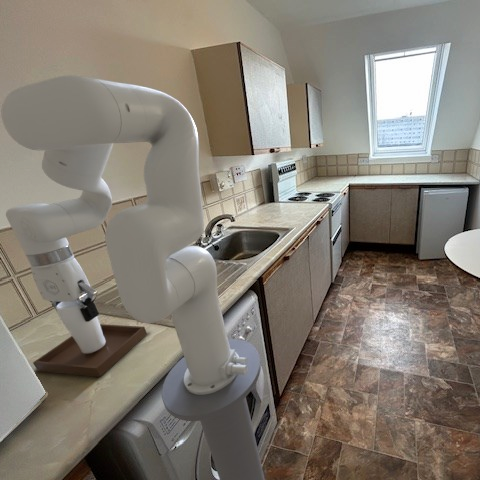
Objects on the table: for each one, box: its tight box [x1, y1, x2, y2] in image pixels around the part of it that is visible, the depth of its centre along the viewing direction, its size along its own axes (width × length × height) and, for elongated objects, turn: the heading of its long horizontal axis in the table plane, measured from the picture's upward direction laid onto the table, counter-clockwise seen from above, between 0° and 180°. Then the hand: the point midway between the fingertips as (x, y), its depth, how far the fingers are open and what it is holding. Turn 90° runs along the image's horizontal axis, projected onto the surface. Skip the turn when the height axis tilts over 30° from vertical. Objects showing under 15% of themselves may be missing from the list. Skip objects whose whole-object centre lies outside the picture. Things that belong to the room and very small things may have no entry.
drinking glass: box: [55, 294, 106, 354], centre depth 70 cm, size 7×7×15 cm
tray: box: [32, 323, 148, 378], centre depth 73 cm, size 19×15×3 cm
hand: (80, 317), depth 69 cm, fingers closed on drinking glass, 6 cm apart
